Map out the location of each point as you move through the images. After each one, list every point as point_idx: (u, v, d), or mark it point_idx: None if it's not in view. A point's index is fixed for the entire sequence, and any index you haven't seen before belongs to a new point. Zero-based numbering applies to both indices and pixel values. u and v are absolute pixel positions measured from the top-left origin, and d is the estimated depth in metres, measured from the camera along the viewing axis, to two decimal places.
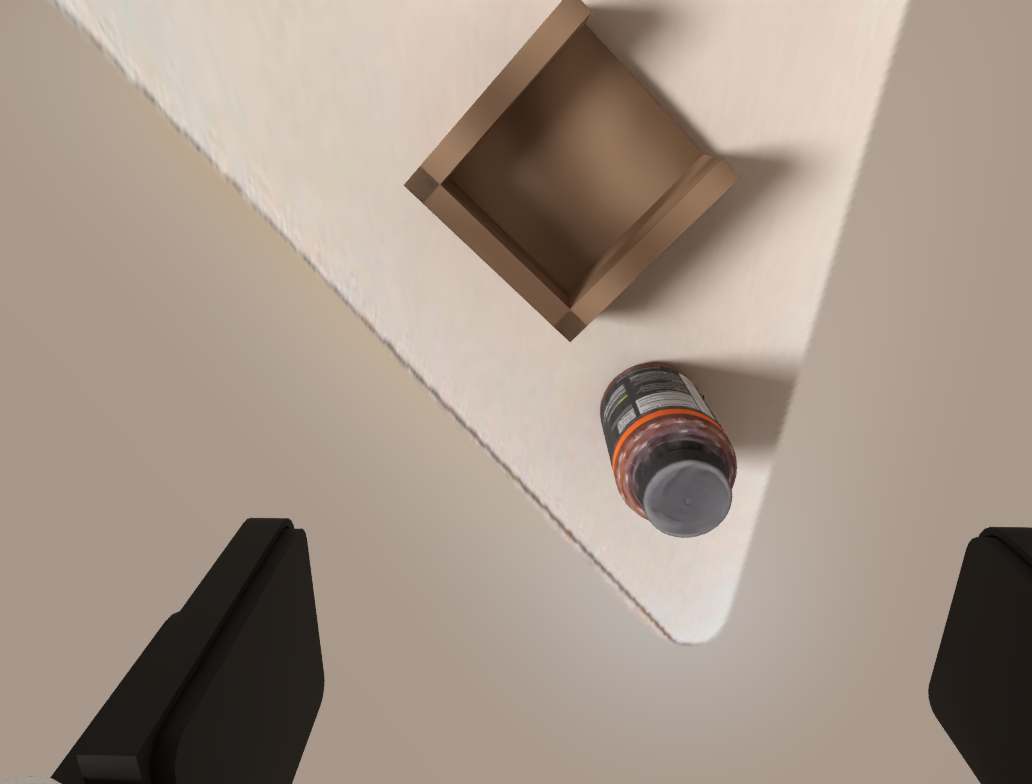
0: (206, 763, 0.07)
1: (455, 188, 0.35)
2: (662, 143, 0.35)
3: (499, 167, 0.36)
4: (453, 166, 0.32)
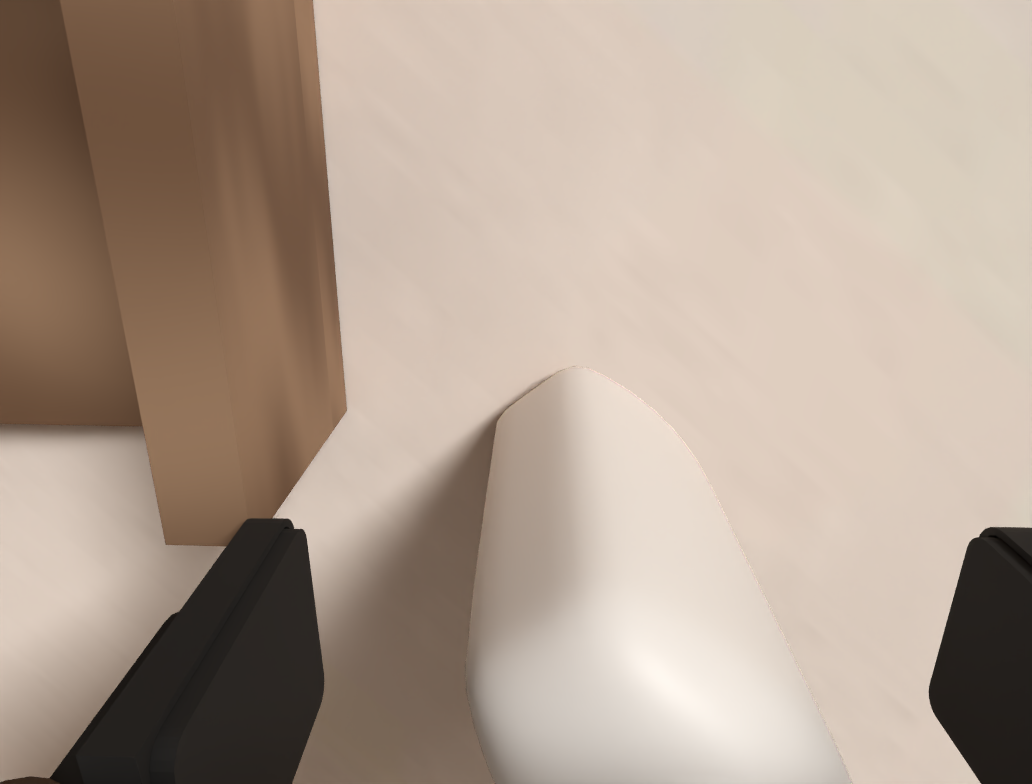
0: (205, 763, 0.07)
1: None
2: None
3: None
4: None
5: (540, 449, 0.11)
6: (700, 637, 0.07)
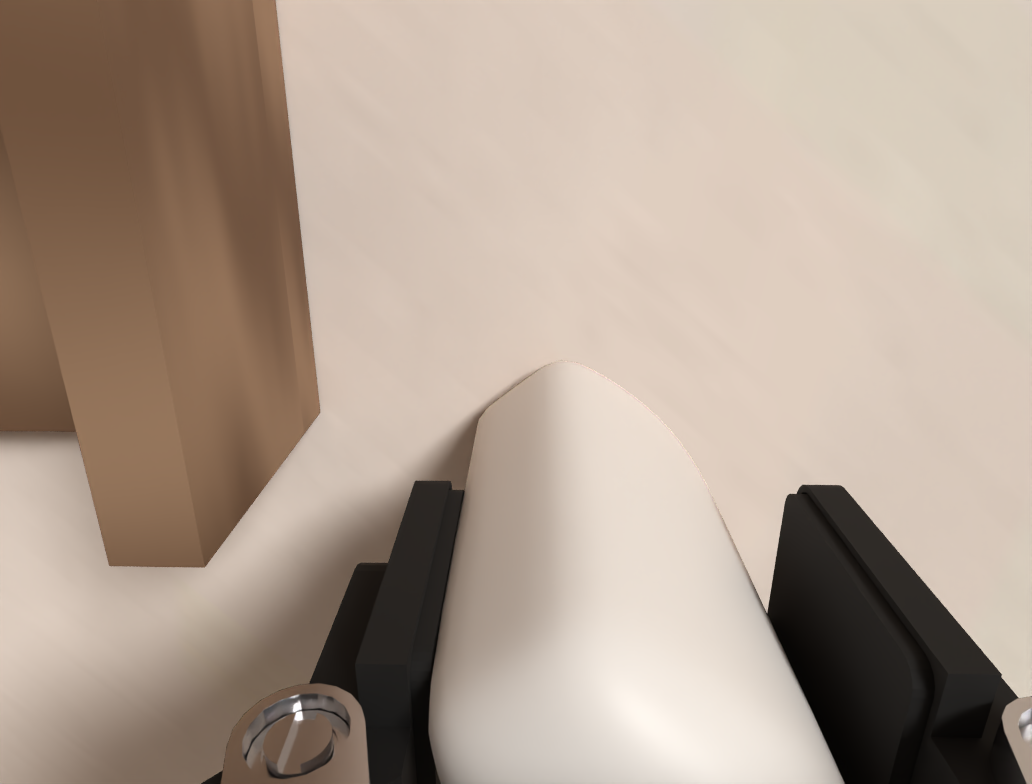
0: None
1: None
2: None
3: None
4: None
5: (521, 452, 0.10)
6: (694, 677, 0.06)
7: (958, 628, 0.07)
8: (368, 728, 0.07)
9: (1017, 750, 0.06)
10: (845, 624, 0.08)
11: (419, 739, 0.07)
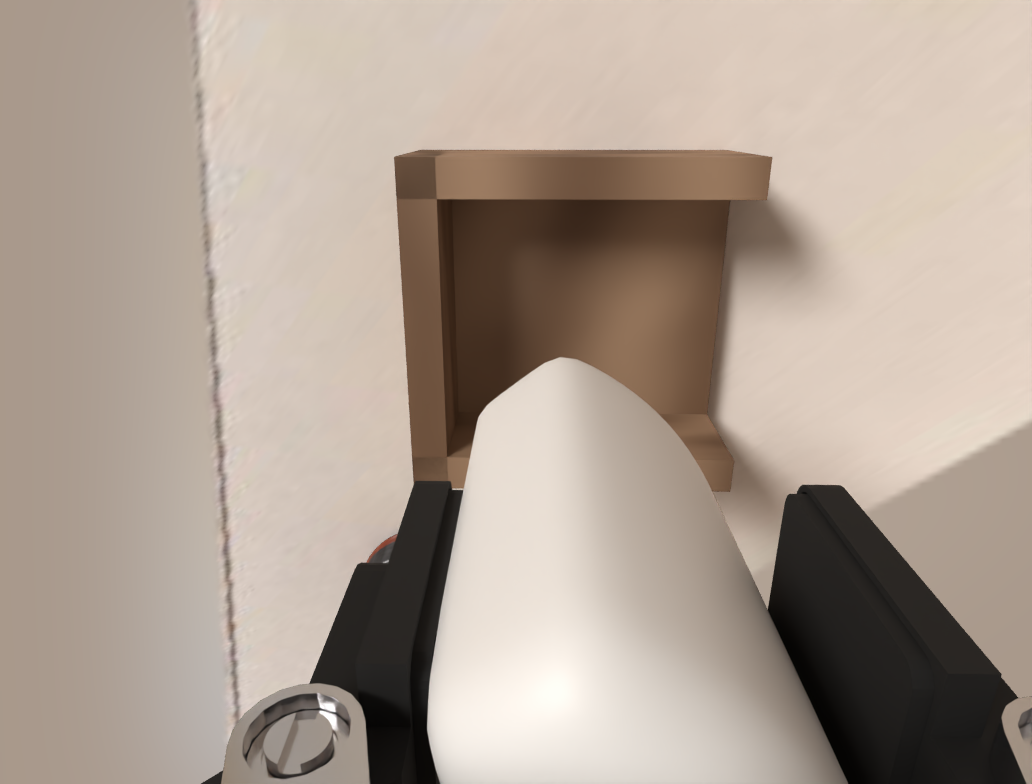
0: None
1: (447, 209, 0.24)
2: (683, 369, 0.27)
3: (513, 231, 0.25)
4: (471, 196, 0.21)
5: (521, 449, 0.10)
6: (695, 674, 0.06)
7: (958, 628, 0.07)
8: (368, 728, 0.07)
9: (1017, 750, 0.06)
10: (845, 624, 0.08)
11: (419, 739, 0.07)
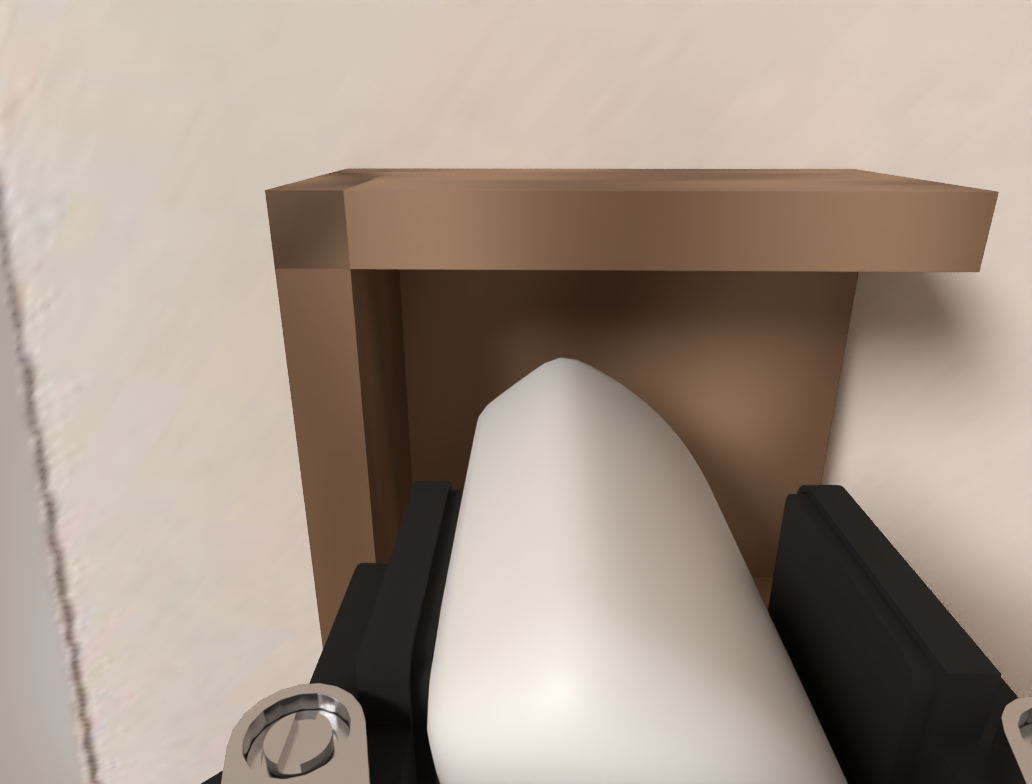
0: None
1: (385, 272, 0.14)
2: (770, 512, 0.17)
3: (500, 303, 0.15)
4: (414, 264, 0.11)
5: (521, 449, 0.10)
6: (694, 673, 0.06)
7: (958, 628, 0.07)
8: (368, 728, 0.07)
9: (1017, 750, 0.06)
10: (845, 624, 0.08)
11: (419, 739, 0.07)
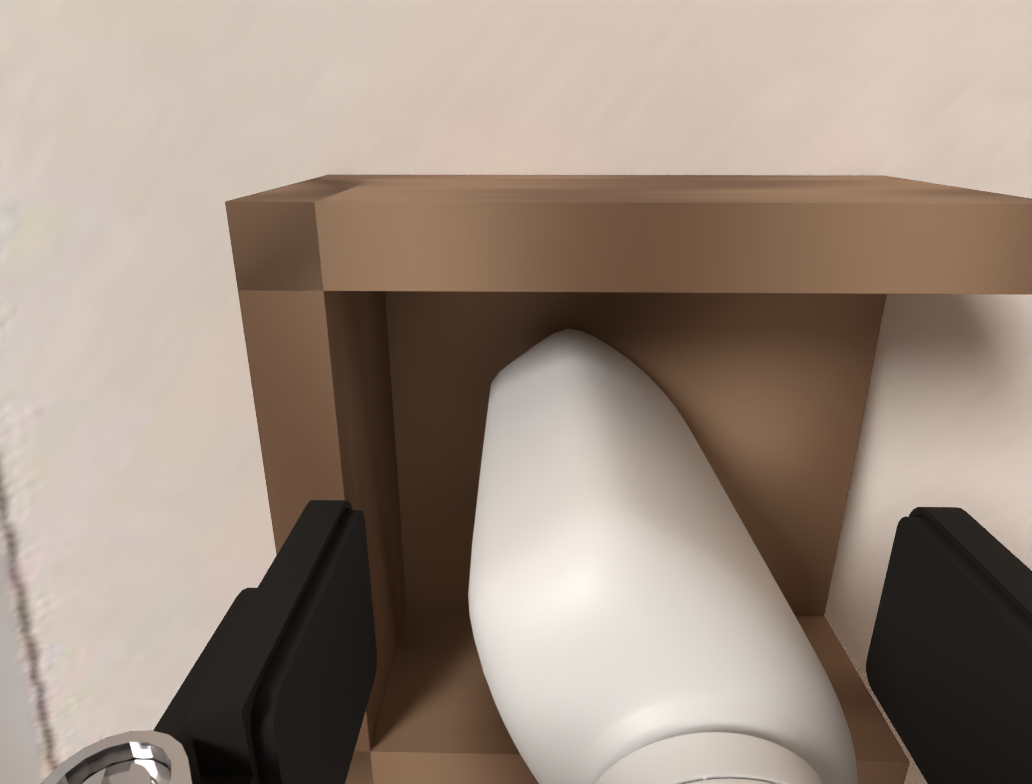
0: (294, 722, 0.07)
1: (368, 290, 0.12)
2: (788, 546, 0.16)
3: (495, 321, 0.14)
4: (396, 286, 0.10)
5: (538, 399, 0.11)
6: (700, 558, 0.07)
7: None
8: (206, 778, 0.06)
9: None
10: (991, 662, 0.08)
11: None
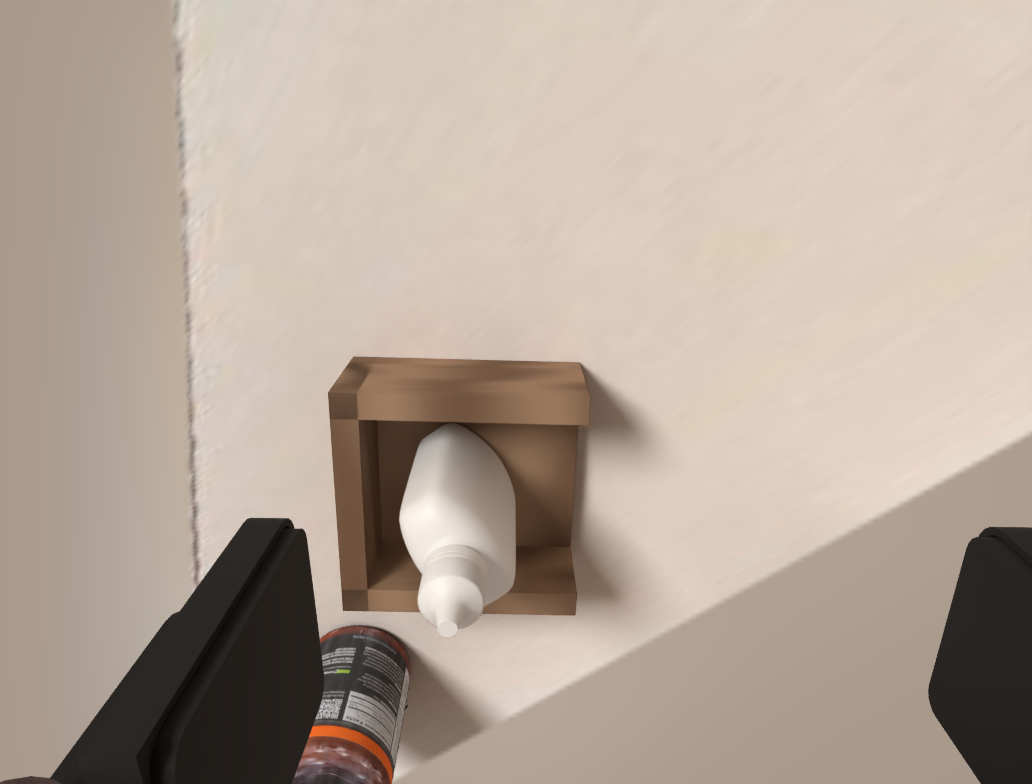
0: (206, 763, 0.07)
1: None
2: (551, 514, 0.36)
3: None
4: (382, 418, 0.30)
5: (430, 455, 0.31)
6: (459, 505, 0.27)
7: None
8: None
9: None
10: None
11: None
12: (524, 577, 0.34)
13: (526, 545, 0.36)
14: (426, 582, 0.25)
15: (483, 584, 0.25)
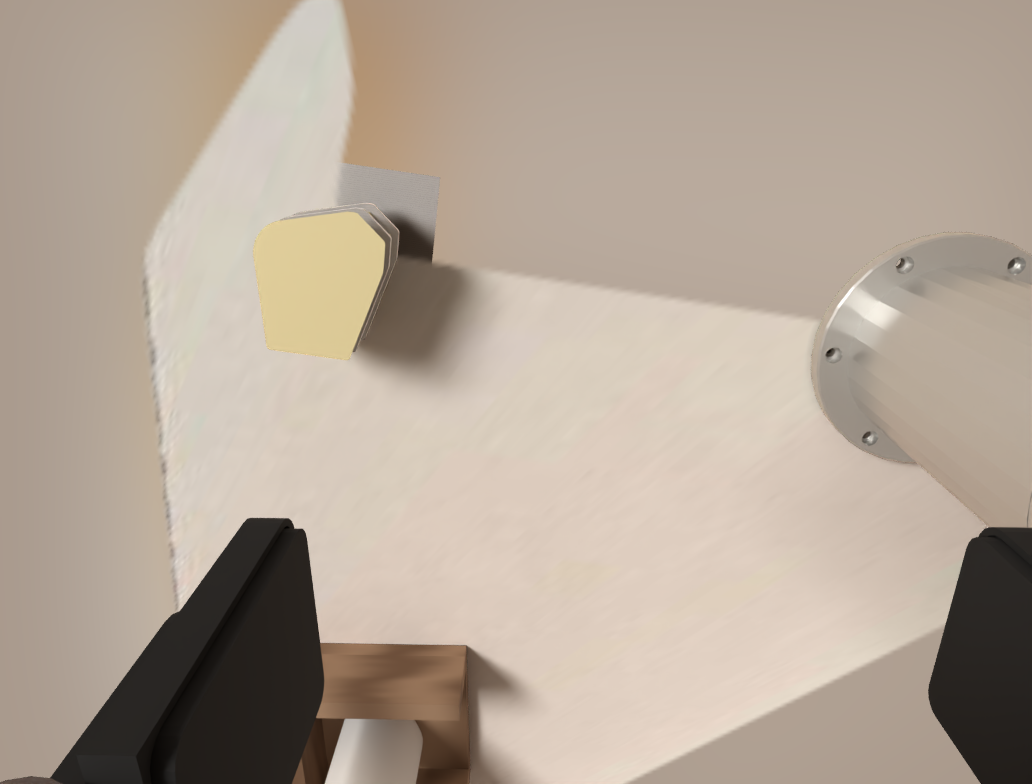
0: (206, 763, 0.07)
1: None
2: (452, 748, 0.48)
3: None
4: None
5: (349, 734, 0.43)
6: None
7: None
8: None
9: None
10: None
11: None
12: None
13: (435, 768, 0.48)
14: None
15: None
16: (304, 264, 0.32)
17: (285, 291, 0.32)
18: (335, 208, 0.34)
